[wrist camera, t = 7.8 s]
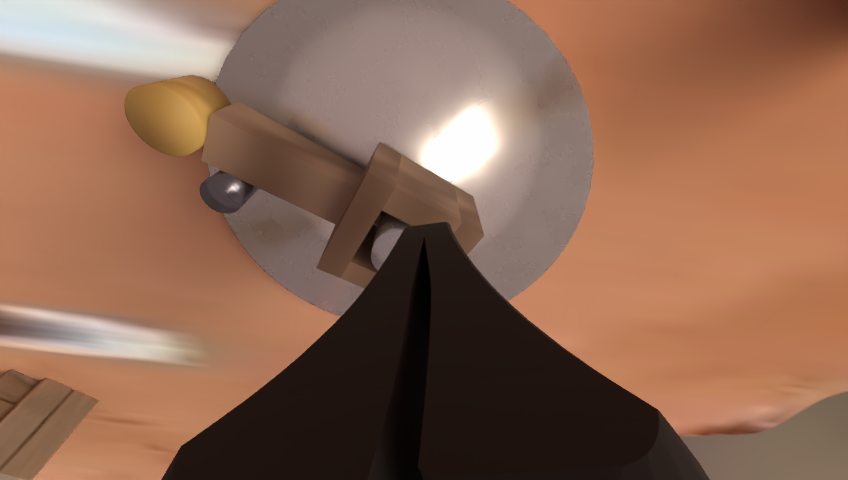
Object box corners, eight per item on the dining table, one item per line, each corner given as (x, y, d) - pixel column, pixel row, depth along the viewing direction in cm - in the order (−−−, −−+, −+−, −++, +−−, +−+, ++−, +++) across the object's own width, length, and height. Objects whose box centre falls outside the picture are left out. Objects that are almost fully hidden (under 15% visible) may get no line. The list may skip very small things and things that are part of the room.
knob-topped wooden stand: (473, 196, 18) (484, 235, 14) (419, 265, 21) (418, 310, 17) (180, 25, 13) (98, 25, 10) (164, 145, 16) (98, 176, 13)
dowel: (271, 186, 18) (242, 217, 15) (238, 178, 18) (202, 208, 15) (271, 156, 17) (239, 184, 14) (236, 148, 17) (197, 174, 14)
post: (416, 219, 20) (414, 281, 15) (381, 211, 20) (367, 271, 15) (426, 187, 19) (427, 243, 14) (388, 178, 19) (375, 232, 14)
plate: (497, 337, 27) (499, 347, 26) (232, 289, 24) (225, 299, 23) (675, 57, 15) (691, 59, 14) (185, -119, 12) (165, -132, 11)
